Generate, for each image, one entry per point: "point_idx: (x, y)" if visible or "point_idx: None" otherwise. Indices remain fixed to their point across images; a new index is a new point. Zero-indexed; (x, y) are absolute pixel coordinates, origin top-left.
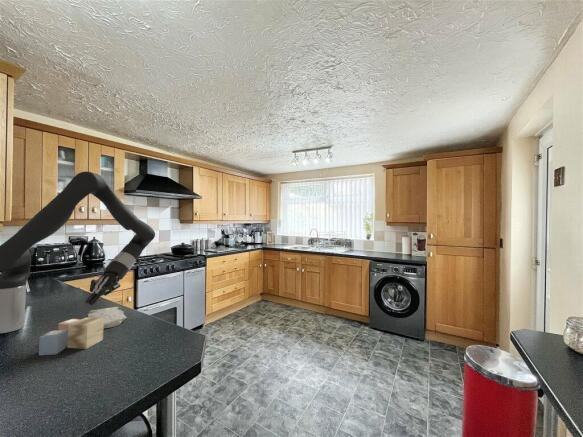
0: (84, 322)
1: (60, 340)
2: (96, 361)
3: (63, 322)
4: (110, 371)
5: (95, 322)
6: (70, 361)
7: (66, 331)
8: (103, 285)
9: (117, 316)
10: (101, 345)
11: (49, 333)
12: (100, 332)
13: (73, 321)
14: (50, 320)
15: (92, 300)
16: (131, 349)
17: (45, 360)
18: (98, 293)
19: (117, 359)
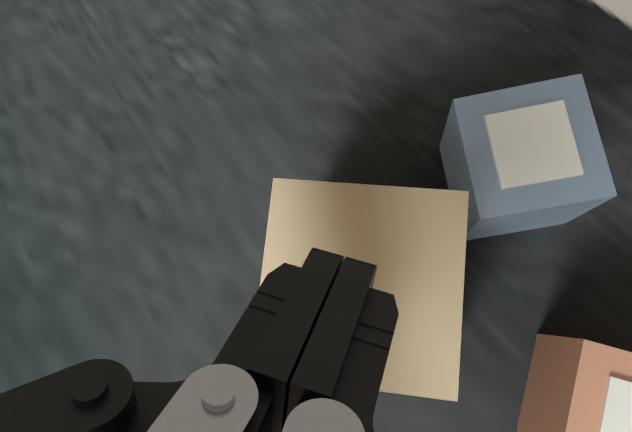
0: (357, 250)
1: (453, 151)
2: (150, 82)
3: None
4: (35, 8)
5: (263, 268)
6: (285, 75)
7: (476, 206)
8: None
9: None
10: (242, 264)
11: (557, 124)
12: None
13: (607, 420)
14: None
15: (268, 279)
16: (36, 214)
17: (435, 76)
18: (195, 388)
19: (57, 106)
